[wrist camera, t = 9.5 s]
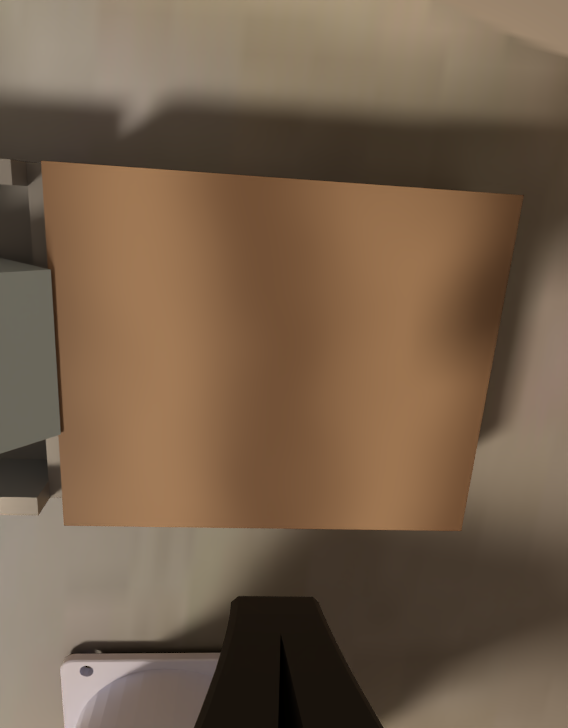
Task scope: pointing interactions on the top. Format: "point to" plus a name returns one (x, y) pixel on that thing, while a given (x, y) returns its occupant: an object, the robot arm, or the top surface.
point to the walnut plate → (270, 347)
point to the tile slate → (27, 356)
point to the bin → (28, 245)
